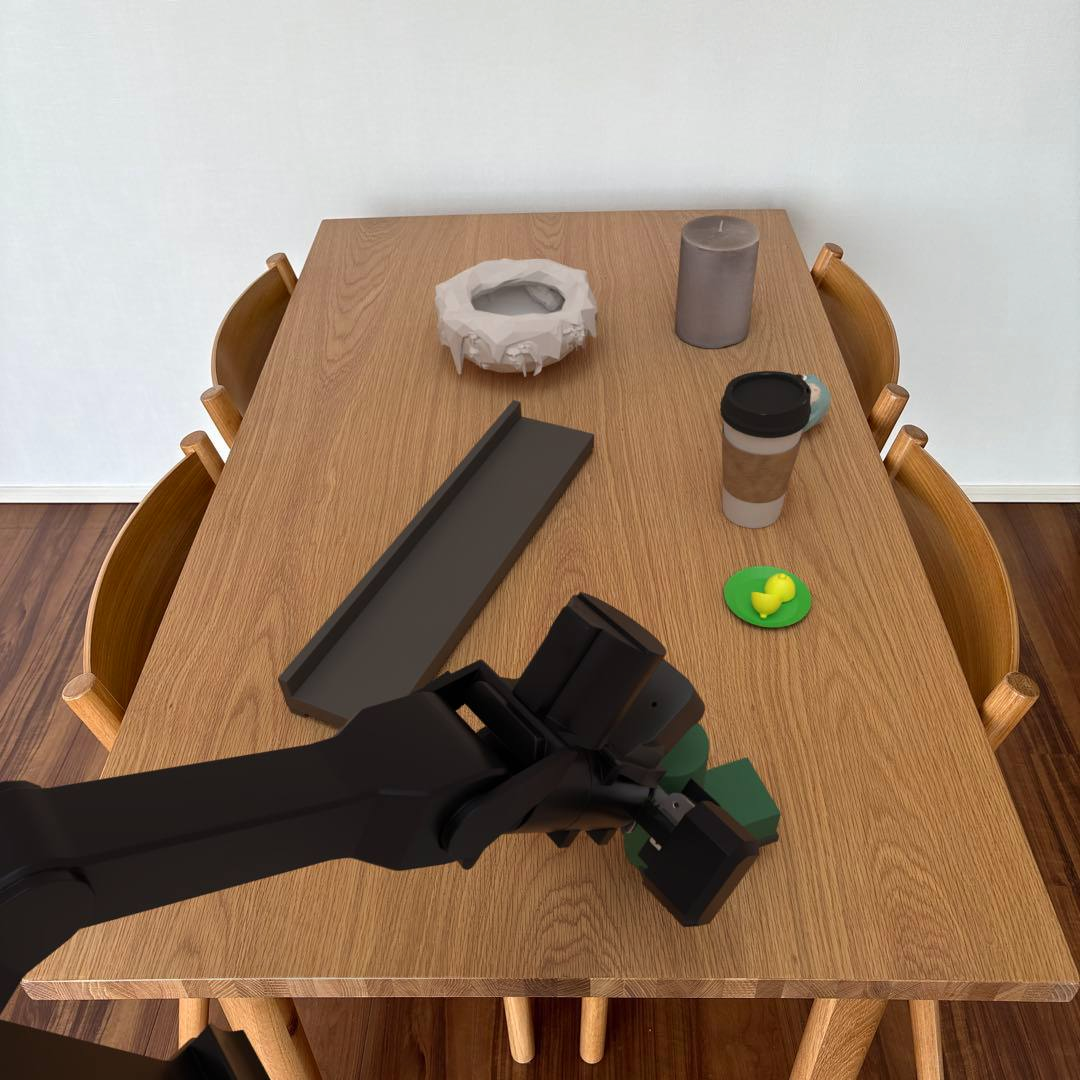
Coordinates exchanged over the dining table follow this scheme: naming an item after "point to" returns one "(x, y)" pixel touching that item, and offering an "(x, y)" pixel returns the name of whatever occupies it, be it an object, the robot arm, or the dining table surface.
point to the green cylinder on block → (713, 791)
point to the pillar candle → (716, 280)
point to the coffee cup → (761, 443)
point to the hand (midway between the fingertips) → (678, 782)
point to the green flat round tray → (767, 596)
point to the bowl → (515, 314)
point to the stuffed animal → (816, 400)
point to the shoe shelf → (436, 571)
